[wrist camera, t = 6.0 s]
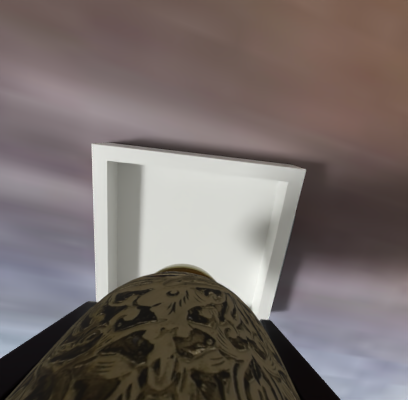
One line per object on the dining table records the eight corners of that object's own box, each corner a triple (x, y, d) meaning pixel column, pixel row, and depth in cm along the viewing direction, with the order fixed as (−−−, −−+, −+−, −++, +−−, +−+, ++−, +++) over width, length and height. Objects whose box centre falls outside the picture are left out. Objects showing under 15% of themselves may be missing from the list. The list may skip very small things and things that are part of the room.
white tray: (260, 313, 17) (267, 335, 15) (109, 297, 17) (96, 317, 15) (295, 165, 14) (309, 170, 12) (107, 142, 14) (91, 143, 12)
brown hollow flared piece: (207, 372, 12) (208, 832, 4) (79, 311, 11) (-256, 768, 3) (296, 269, 10) (622, 756, 2) (152, 183, 9) (-232, 517, 1)
